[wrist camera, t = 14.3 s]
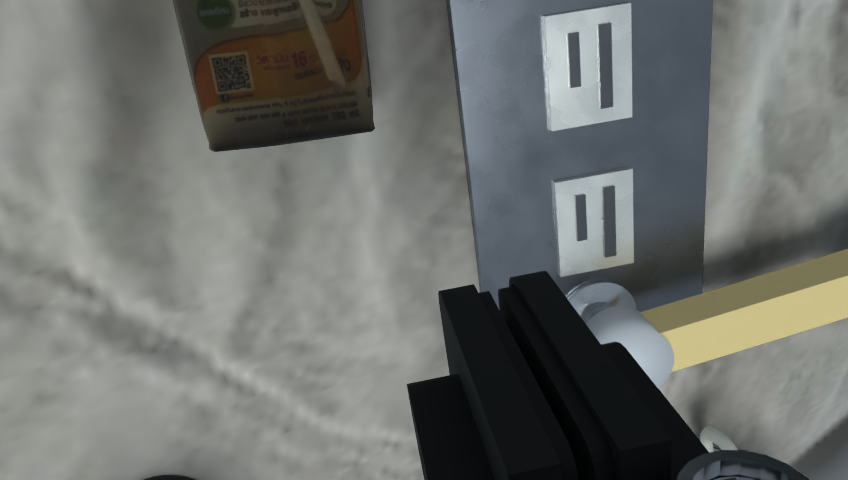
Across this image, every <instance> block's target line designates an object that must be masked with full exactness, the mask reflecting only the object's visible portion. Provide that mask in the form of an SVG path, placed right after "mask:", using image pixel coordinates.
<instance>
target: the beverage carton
mask: <svg viewBox="0 0 848 480" xmlns="http://www.w3.org/2000/svg"><path fill="white" fill-rule="evenodd" d="M173 4H174V8H175V12H176V16H177V21H178V25H179V29H180V33H181V37H182V42H183V46H184V50H185V54H186V58H187V63H188V67H189V71H190V76H191V81H192V85H193V88H194V91H195V94H196V98H197V102H198V107H199V111H200V115H201V118H202V122H203V126H204V129H205V132H206V135H207V138H208V141H209V148H210V150H212V151H215V152H217V151H228V150H238V149H249V148H259V147H268V146H276V145H283V144H290V143H297V142H304V141H311V140H317V139H324V138H331V137H337V136H344V135H351V134H357V133H364V132H371V131H373V130H374V129H375V127H374V122H373V106H372V90H371V80H370V70H369V61H368V52H367V43H366V34H365V24H364V15H363V7H362V0H173Z"/></svg>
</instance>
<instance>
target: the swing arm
mask: <svg viewBox="0 0 848 480" xmlns="http://www.w3.org/2000/svg"><path fill="white" fill-rule="evenodd" d="M847 317H848V249H846V250H842V251H839V252H836V253H832V254H829V255H826V256H823V257H819V258H816V259H813V260H810V261H806V262H803V263H800V264H797V265H793V266H790V267H787V268H783V269H780V270H777V271H774V272H770V273H767V274H764V275H761V276H757V277H754V278H751V279H748V280H744V281H741V282H738V283H734V284H731V285H728V286H725V287H721V288H718V289H715V290H712V291H708V292H705V293H702V294H699V295H695V296H692V297H689V298H685V299H682V300H679V301H676V302H672V303H669V304H666V305H663V306H659V307H656V308H653V309H650V310H646V311H643V312H640V311H638V310H636V309H634V308H632V307H628V306H614V307H610V308H607V309H604V310H602V311H600V312H599V313H597V314H596V315H594V316H593V317H592V318H591V319H590V320H589V321H588V322H587V323H586V325H587V326H588V327H589V329H590V330H591V331H592V333H593V334H594V336H595V337H596V338H597V340H598V341H599V342H600V344H606V343H611V342H619V343H621V344H622V345H623V346H624V347H625V348H626V349H627V350H628V351H629V353H630V354H631V355H632V356H633V358H634V359H635V360H636V361H637V363H638V364H639V365H640V366H641V368H642V369H643V370H644V371H645V373H646V374H647V375H648V376H649V378H650V379H651V380H652V381H653V383H654V384H655V385H656V386H657V388H658V389H659V388H660V387H661V386H662V385H663V384H664V383H665V382H666V380H667V379H668V377H669V376H670V374H671V372H673V371H676V370H679V369H683V368H686V367H689V366H692V365H696V364H699V363H702V362H705V361H708V360H712V359H715V358H718V357H721V356H725V355H728V354H731V353H734V352H738V351H741V350H744V349H747V348H750V347H754V346H757V345H760V344H763V343H767V342H770V341H773V340H776V339H780V338H783V337H786V336H789V335H792V334H796V333H799V332H802V331H805V330H809V329H812V328H815V327H818V326H821V325H825V324H828V323H831V322H834V321H838V320H841V319H844V318H847Z"/></svg>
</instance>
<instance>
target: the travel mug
mask: <svg viewBox="0 0 848 480" xmlns="http://www.w3.org/2000/svg"><path fill="white" fill-rule="evenodd" d="M146 480H193V479H190V478H186V477H180V476H159V477H153V478H149V479H146Z"/></svg>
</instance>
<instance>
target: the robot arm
mask: <svg viewBox="0 0 848 480" xmlns="http://www.w3.org/2000/svg"><path fill="white" fill-rule="evenodd" d="M438 295H439V304H440V311H441V318H442V325H443V332H444V339H445V345H446V352H447V359H448V366H449V373H450V375H449V376H444V377H439V378H435V379H430V380H425V381H420V382H415V383H410V384H407V388H408V394H409V400H410V405H411V411H412V416H413V422H414V427H415V433H416V438H417V444H418V449H419V454H420V459H421V464H422V469H423V475H424V479H425V480H810V479H809V478H808V477H806V476H805V475H803V474H802V473H800V472H799V471H797V470H796V469H794V468H793V467H791V466H790V465H788V464H786V463H784V462H782V461H779V460H777V459H774V458H772V457H769V456H767V455H764V454H759V453H754V452H749V451H745V450H719V451H714V452H710V453H709V452H708V450H707V449H706V448H705V447H704V445H703V444H702V443H701V441H700V440H699V439H698V438H697V436H696V435H695V434H694V433H693V431H692V430H691V429H690V428H689V426H688V425H687V424H686V423H685V421H684V420H683V419H682V418H681V416H680V415H679V414H678V413H677V411H676V410H675V409H674V408H673V406H672V405H671V404H670V403H669V401H668V400H667V399H666V398H665V396H664V395H663V394H662V393H661V391H660V390H659V389H658V388H657V386H656V385H655V384H654V383H653V381H652V380H651V379H650V378H649V376H648V375H647V374H646V373H645V371H644V370H643V369H642V368H641V366H640V365H639V364H638V363H637V361H636V360H635V359H634V358H633V356H632V355H631V354H630V353H629V351H628V350H627V349H626V348H625V347H624V346H623V345H622V344H621V343H619V342H611V343H606V344H600V342H599V341H598V340H597V338H596V337H595V336H594V334H593V333H592V331H591V330H590V329H589V327H588V326H587V325H586V323H585V322H584V321H583V319H582V318H581V317H580V315H579V314H578V313H577V311H576V310H575V309H574V307H573V306H572V305H571V303H570V302H569V300H568V299H567V298H566V296H565V295H564V294H563V292H562V291H561V290H560V288H559V287H558V286H557V284H556V283H555V282H554V280H553V279H552V278H551V276H550V275H549V274H548V272H546V271H540V272H535V273H530V274H525V275H520V276H514V277H510V279H509V287H506V288H501V289H499V290H498V300H499V308H498V307H497V305H496V303H495V301H494V299H493V297H492V295H491V293H490V292H489V291H486V292H480V293H478V292H477V289H476V287H475V286H474V285H468V286H463V287H458V288H453V289H447V290H442V291H439V293H438Z"/></svg>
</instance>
